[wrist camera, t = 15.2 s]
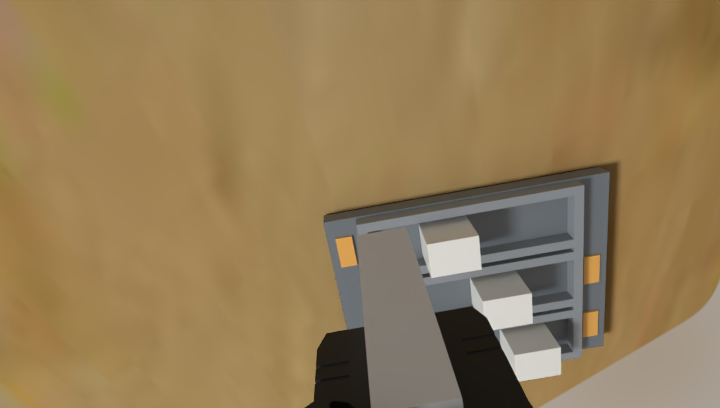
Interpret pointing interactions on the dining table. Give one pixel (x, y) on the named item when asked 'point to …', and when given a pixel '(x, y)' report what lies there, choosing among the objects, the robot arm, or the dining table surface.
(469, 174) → the dining table surface
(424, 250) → the tab
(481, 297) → the tab
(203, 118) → the dining table surface
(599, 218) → the switch board
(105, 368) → the dining table surface
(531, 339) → the tab
